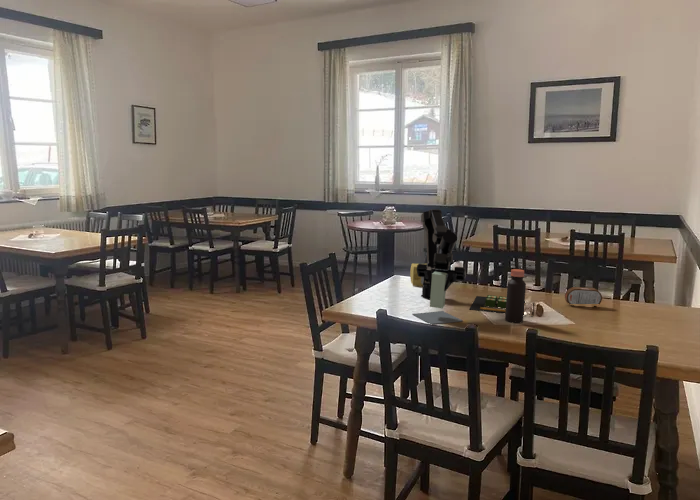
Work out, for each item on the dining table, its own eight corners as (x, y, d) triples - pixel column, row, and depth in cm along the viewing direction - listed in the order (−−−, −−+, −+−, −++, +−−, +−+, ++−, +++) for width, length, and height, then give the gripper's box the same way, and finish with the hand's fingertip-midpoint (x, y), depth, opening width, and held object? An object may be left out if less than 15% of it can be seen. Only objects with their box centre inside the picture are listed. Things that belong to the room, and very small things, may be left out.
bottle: (524, 323, 204) (528, 272, 201) (505, 322, 205) (509, 271, 202) (522, 319, 210) (525, 269, 207) (504, 317, 212) (507, 268, 209)
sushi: (469, 311, 222) (469, 302, 222) (476, 297, 246) (477, 289, 245) (532, 318, 214) (533, 309, 214) (533, 303, 237) (534, 295, 237)
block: (431, 303, 211) (434, 271, 209) (444, 305, 210) (447, 272, 207) (429, 306, 207) (432, 273, 204) (442, 308, 205) (445, 275, 203)
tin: (599, 306, 233) (601, 287, 232) (602, 308, 230) (604, 289, 229) (563, 304, 234) (565, 286, 233) (565, 306, 231) (567, 287, 230)
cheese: (433, 287, 263) (434, 267, 261) (411, 286, 263) (412, 266, 261) (430, 282, 273) (431, 263, 271) (409, 281, 273) (410, 262, 271)
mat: (442, 311, 218) (442, 310, 218) (462, 321, 205) (462, 320, 205) (412, 314, 212) (412, 313, 212) (431, 324, 200) (431, 323, 200)
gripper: (418, 243, 211) (411, 276, 202) (466, 246, 205) (461, 280, 197) (421, 259, 219) (414, 292, 211) (467, 263, 214) (462, 296, 205)
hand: (437, 290), depth 206 cm, fingers closed on block, 5 cm apart
